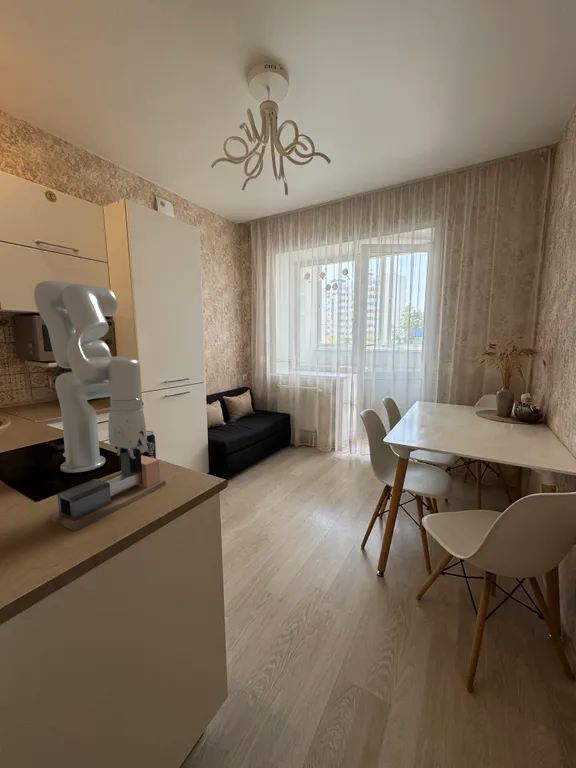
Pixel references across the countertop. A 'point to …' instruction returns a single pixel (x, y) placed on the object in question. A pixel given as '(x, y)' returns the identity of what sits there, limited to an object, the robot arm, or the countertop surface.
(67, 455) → the robot arm
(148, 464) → the socket block
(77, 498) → the sleeve
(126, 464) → the slide bolt
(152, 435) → the beverage can
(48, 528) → the countertop surface
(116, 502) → the base board
